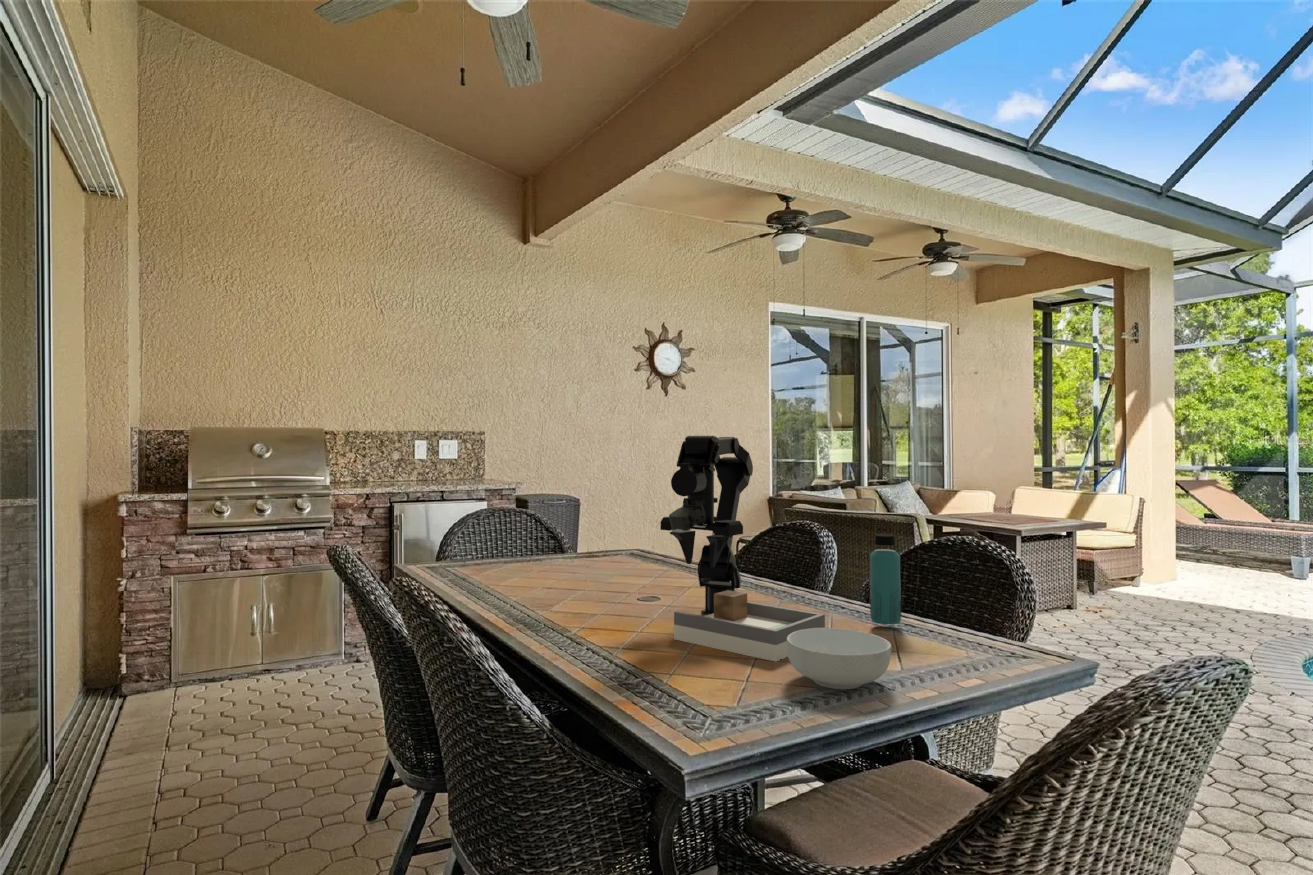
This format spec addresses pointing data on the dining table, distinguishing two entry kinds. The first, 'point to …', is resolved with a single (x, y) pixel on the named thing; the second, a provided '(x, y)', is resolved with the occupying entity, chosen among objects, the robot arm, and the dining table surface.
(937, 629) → the dining table surface
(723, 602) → the walnut block
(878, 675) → the cereal bowl
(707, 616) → the trap box
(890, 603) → the beverage bottle
